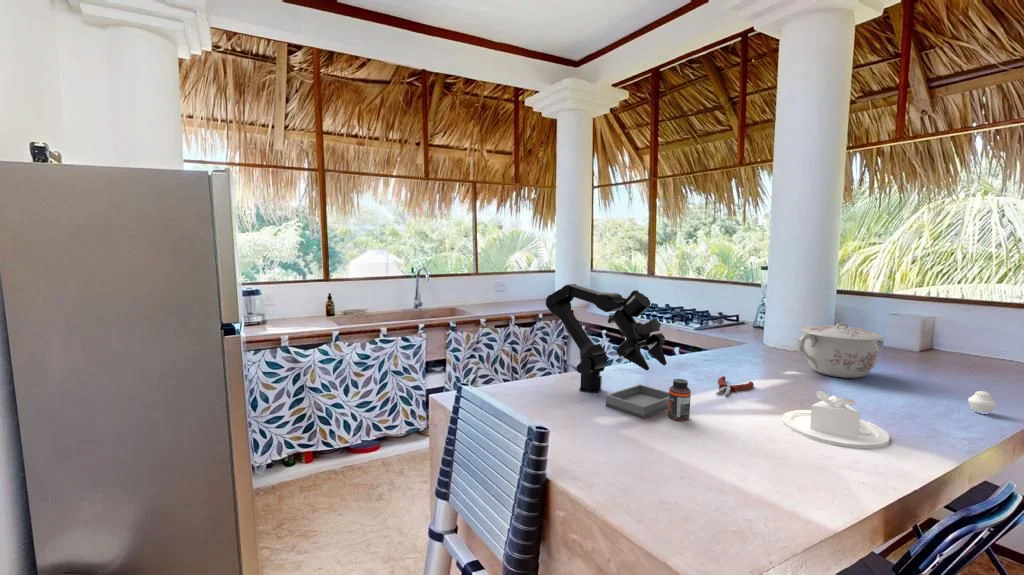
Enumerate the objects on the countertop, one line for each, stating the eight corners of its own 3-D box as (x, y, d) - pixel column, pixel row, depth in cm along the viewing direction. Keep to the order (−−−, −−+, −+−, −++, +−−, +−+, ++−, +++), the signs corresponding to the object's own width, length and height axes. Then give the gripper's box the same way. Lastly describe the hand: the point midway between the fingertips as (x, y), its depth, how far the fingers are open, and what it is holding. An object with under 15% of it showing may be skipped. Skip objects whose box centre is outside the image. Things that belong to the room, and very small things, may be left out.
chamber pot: (877, 371, 194) (882, 321, 192) (885, 388, 171) (890, 331, 169) (797, 361, 209) (800, 314, 207) (795, 376, 186) (798, 323, 184)
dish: (896, 458, 116) (900, 413, 115) (779, 435, 130) (781, 394, 128) (883, 425, 137) (886, 387, 136) (783, 408, 150) (785, 373, 149)
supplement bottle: (664, 414, 143) (666, 377, 142) (683, 413, 144) (685, 377, 143) (673, 421, 137) (674, 383, 136) (693, 421, 138) (695, 383, 137)
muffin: (967, 408, 152) (969, 386, 151) (994, 413, 147) (997, 391, 147) (966, 412, 147) (969, 390, 147) (994, 418, 143) (997, 395, 142)
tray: (605, 405, 150) (605, 394, 150) (639, 394, 161) (639, 384, 161) (643, 418, 139) (643, 407, 139) (676, 405, 151) (677, 394, 150)
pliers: (702, 394, 164) (703, 387, 163) (721, 381, 179) (721, 374, 179) (738, 402, 156) (739, 394, 156) (754, 388, 172) (755, 381, 171)
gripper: (625, 313, 142) (656, 357, 134) (661, 308, 154) (691, 348, 146) (603, 335, 148) (632, 378, 141) (639, 328, 160) (667, 367, 153)
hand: (657, 367), depth 145 cm, fingers open, 9 cm apart
